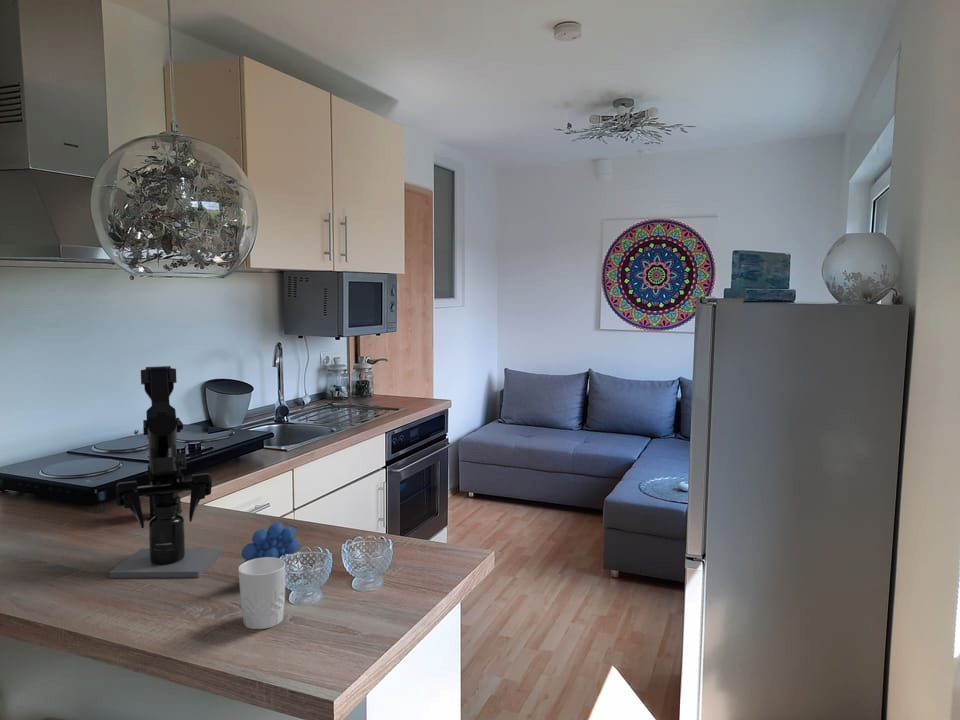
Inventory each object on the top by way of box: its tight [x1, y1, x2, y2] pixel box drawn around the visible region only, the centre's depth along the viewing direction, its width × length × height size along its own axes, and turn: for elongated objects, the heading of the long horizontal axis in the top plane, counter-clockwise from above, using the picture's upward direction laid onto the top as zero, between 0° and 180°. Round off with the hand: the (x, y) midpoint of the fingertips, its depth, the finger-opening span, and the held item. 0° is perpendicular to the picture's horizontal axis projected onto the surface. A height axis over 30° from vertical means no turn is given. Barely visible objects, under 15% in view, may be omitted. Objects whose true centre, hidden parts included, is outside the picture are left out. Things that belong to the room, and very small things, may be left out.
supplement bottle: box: [148, 502, 186, 565], centre depth 141 cm, size 7×7×12 cm
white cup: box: [237, 557, 287, 630], centre depth 116 cm, size 8×8×10 cm
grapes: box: [241, 521, 300, 564], centre depth 133 cm, size 12×7×12 cm, turn 121°
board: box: [109, 547, 224, 579], centre depth 141 cm, size 18×13×1 cm
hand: (167, 523), depth 140 cm, fingers open, 9 cm apart
